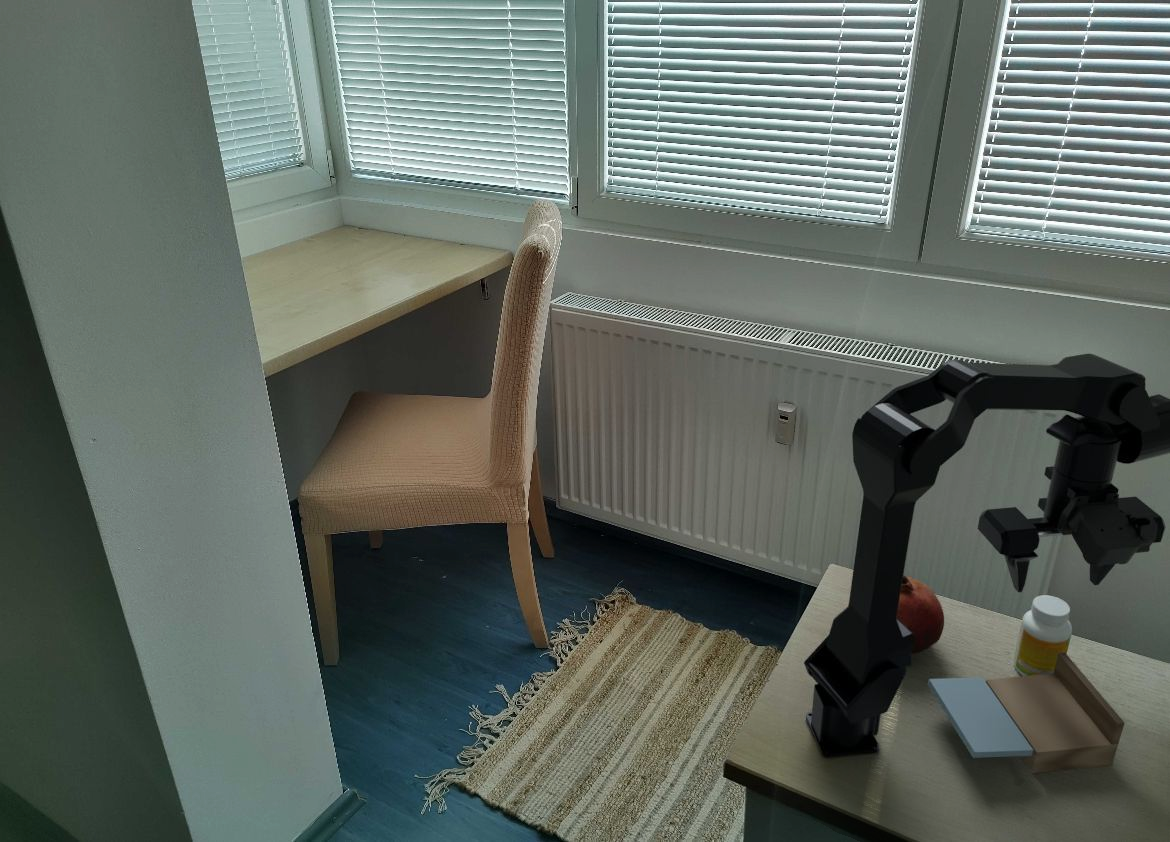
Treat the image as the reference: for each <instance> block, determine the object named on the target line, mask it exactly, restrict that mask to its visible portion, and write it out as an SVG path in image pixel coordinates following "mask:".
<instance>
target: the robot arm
mask: <svg viewBox="0 0 1170 842" xmlns="http://www.w3.org/2000/svg"><path fill="white" fill-rule="evenodd" d="M947 400H948V401H949V402H950V403H952V404H953V405H952V407H951V409H950V411H949V414H948V416H947V418H946V421H944V423H942V424H941V425H940V426H938V428H936V429H934V428H933V427H931V426H930V425H928V424H927V423H925V422H923V421H921V420H920V419H918V418H917V417H915V416H913V415H912V414H914V413H916V412H918V411H922V410H924V409H927V408H930V407H933V406H936V405H938V404H941V403H943V402H945V401H947ZM986 410H1006V411H1008V410H1009V411H1011V410H1012V411H1013V410H1014V411H1016V410H1017V411H1019V410H1020V411H1066V412H1070V413H1071V414H1076V415H1078V416H1077V417H1073V416H1072V415H1070V414H1065V415H1063V416H1062V418H1061V419H1059V420H1057V421H1054V422H1052V424H1050V425H1049V426H1048V427H1047V428H1046V429H1045V431H1046V434H1047V435H1049V436H1051V437H1053V438H1055V439H1057V440H1058V441H1059V442H1058V446H1057V450H1056V454H1055V455H1056V456H1055V460H1054V464H1053V465H1052V466H1046V467H1045V470H1044V474H1043V475H1044V476H1045V477H1046V478H1047V479H1048V480H1049V481H1050V483H1049V487H1048V492H1047V496H1046V497H1042V498H1038V503H1037V507H1038V508H1040V510H1041V511H1042V512H1043V517H1035V518H1033V517H1032V518H1028V517H1027V516H1026V515H1024V513H1022V512H1021V511H1020V510H1019V508H1018V507H1017V506H1014V507H1013V506H1012V507H1011V506H1010V507H1000V508H988V509H986V510H983V511H982V512H981V514H980V515H979V518H978V524H977V530H978V531H979V532H980V533H981V534H982V535H983V536H984V538H985V539H986V540H987V542H989V543H990V544H991V546H992V547H993V548H994V549H995V550H996V551H997V552H998V553H999V554H1000V555H1002V556H1004V559H1005V563H1006V565H1007V568H1008V572H1009V576H1010V578H1011V582H1012V585H1013V588H1014V590H1015V591H1016V592H1017V593H1022V592H1023V590H1024V587H1025V585H1026V580H1027V576H1028V571H1029V566H1030V561H1031V560H1034V559H1037V558H1038V557H1039V555H1038V554H1037V553H1036V552H1035V551H1036V550H1037V549H1038V548H1039V545H1040V538H1045V537H1058V536H1072V538H1073V540H1074V542H1075V543H1076V545H1077V546H1078V549H1079V550H1080V552H1081V553H1082V557H1083V559H1084V561H1085V562H1086V563H1087V564H1088V565H1089V581H1090V582H1091V583H1092V584H1093V586H1098V585H1100V583H1101V582H1102V581H1104V579H1105V578H1106V577H1107V575H1108V574H1110V573H1109V572H1110V571H1112V569H1113V568H1114V567H1115V566H1116V565H1117V564H1118V565H1126V564H1128V563H1129V562H1130V560H1131V559H1132V558H1133V556H1134V555H1135V554H1137V553H1138V554H1139V553H1149V551H1151V550H1150V549H1151V548H1150V547H1151V546H1152V545H1153V544H1156V543H1161V542H1162V540H1163V538H1164V535H1165V530H1166V524H1165V521H1164V518H1163V517H1162V516H1161V515H1160V514H1158V513H1157V512H1156V511H1154V509H1152V508H1151V507H1150V506H1149V505H1147V504H1146V503H1145V502H1144V501H1142V499H1140V498H1139V497H1137V496H1125V497H1120V494H1119V488H1118V487H1117V486H1115V485H1114V484H1113V483H1112V482H1113V478H1114V474H1115V470H1116V466H1117V462H1118V463H1121V464H1124V465H1125V464H1126V465H1129V464H1133V463H1138V462H1141V461H1146V460H1149V459H1153V458H1157V457H1161V456H1164V455H1167V454H1170V398H1169V397H1167V396H1164V395H1163V394H1154V395H1150V396H1149V393H1148V391H1147V390H1146V377H1145V376H1144V375H1143V374H1142V373H1139V372H1137V371H1135V370H1131V369H1130V368H1128V367H1125V366H1123V365H1120V364H1117V363H1115V362H1113V361H1111V360H1108V359H1106V358H1103V357H1101V356H1099V355H1096V354H1095V353H1083V354H1076V355H1073V356H1067V357H1066V356H1065V357H1064V358H1062V359H1061V360H1060V361H1059V362H1058V363H1056V364H1049V365H1048V364H1022V363H1021V364H1020V363H1019V364H1017V363H996V362H995V363H994V362H993V363H992V362H991V363H990V362H973V361H972V362H968V361H965V360H963V359H949V360H947V361H944V362H942V364H940V365H939V366H937V368H936V369H934V370H933V371H932V372H931V373H929V374H928V375H926V376H923V377H921V378H918V379H915V380H912V381H909V382H907V383H905V384H902V385H900V386H897V387H895V388H893V389H891V390H890V391H889V392H888V393H887V394H885V396H883V397H882V398H881V399H880V400H878V401H877V402H875V404H874V405H872V406H871V407H870V408H869V409H868V410H866V411H865V412H864V413H863V414H862V416H860V417H858V418H857V420H856V422H855V423H854V425H853V430H852V435H851V436H852V442H851V443H852V457H853V458H852V461H853V465H854V467H855V471H856V473H857V476H858V478H859V479H858V480H859V482H860V484H861V485H860V486H861V488H862V492H863V495H862V497H863V498H862V503H861V510H860V511H861V512H860V520H859V525H858V533H857V539H856V541H857V542H856V548H855V555H854V563H853V569H852V570H853V572H852V578H851V585H850V593H849V599H848V600H849V601H848V606H847V607H846V608H844V609H843V610H842V611H841V612H839V614H837V615H836V616H834V618H833V620H832V623H831V626H830V629H829V633H828V635H827V636H826V637H825V638H824V639H823V640H822V642H821V643H820V644H819V645H818V646H817V647H816V648H815V649H814V651H812V652H811V653H810V655H809V656H808V657H807V658H806V659H805V660H804V662H803V664H804V667H805V670H806V672H807V675H808V676H809V677H812V679H813V680H814V681H815V682H816V684H814V686H813V695H812V696H813V697H812V708H811V711H807V712H806V714H805V719H806V721H807V724H808V725H809V728H810V730H811V733H812V735H813V737H814V740H815V742H816V744H817V746H818V749H819V752H820V755H821V756H822V757H824V758H835V757H836V758H837V757H844V756H845V757H846V756H855V755H865V754H874V753H878V752H879V751H880V745H879V743H878V741H877V738H876V737H875V736H878V735H879V731H880V722H881V718H882V717H881V716H882V715H883V714H886V713H887V712H888V711H889V709H890V707H891V704H892V702H893V700H894V698H895V696H896V695H897V693H898V690H899V688H900V686H901V684H902V682H903V680H904V678H905V675H906V673H907V667H908V668H910V667H912V666H913V664H912V661H911V658H912V657H911V655H912V653H911V652H912V649H913V646H914V643H915V640H914V634H913V633H912V632H911V631H910V630H909V629H908V628H906V627H905V626H904V625H903V624H902V623H901V622H900V621H899V620H898V619H897V611H898V605H899V598H900V592H901V586H902V580H903V575H904V574H905V567H906V562H907V556H908V548H909V542H910V537H911V533H912V532H911V530H912V525H913V524H912V523H913V520H914V519H913V518H914V513H915V506H916V503H917V501H918V500H919V499H920V498H921V497H923V496H924V495H925V494H926V493H927V492H928V491H929V490H930V489H931V488H933V486H934V485H935V483H936V480H937V477H938V474H939V471H940V468H941V467H942V466H943V464H945V463H946V462H948V460H950V459H951V458H952V457H953V456H954V455H956V454H957V453H958V452H960V451H961V449H963V447H964V446H965V444H966V442H967V441H968V437H969V435H970V432H971V430H972V427H973V425H974V423H975V420H976V419H977V418H978V417H979V416H980V415H982V414H983V413H984V412H985V411H986Z"/></svg>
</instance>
